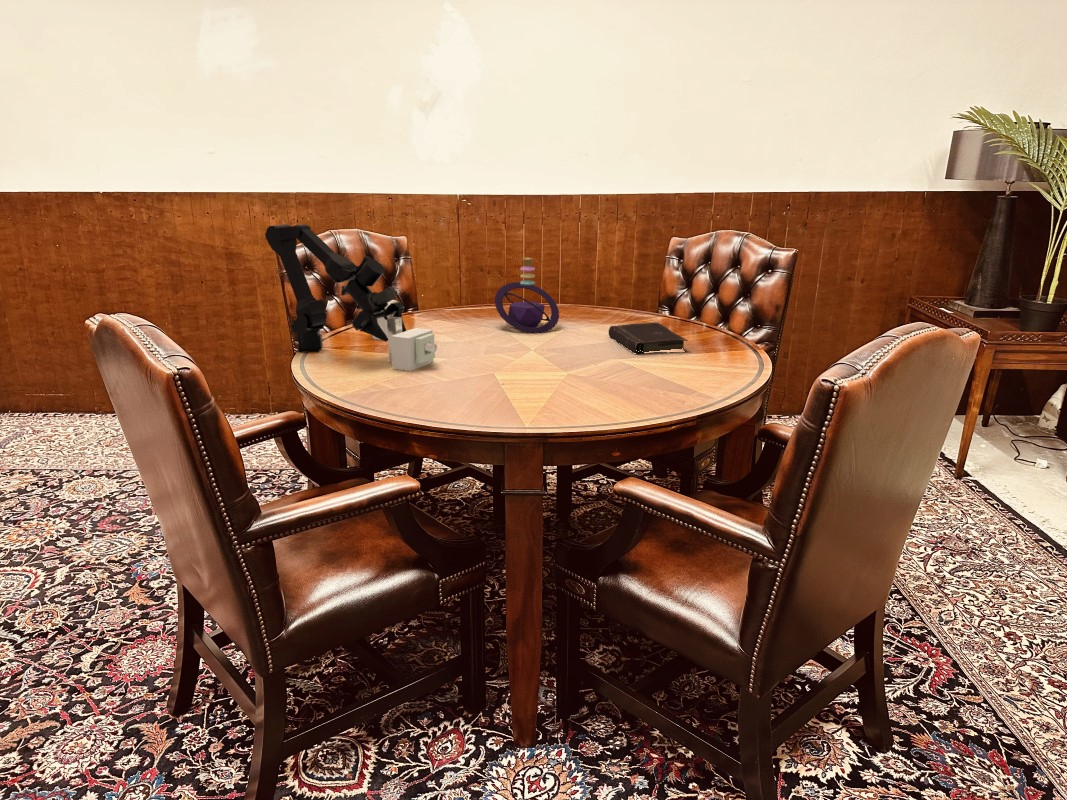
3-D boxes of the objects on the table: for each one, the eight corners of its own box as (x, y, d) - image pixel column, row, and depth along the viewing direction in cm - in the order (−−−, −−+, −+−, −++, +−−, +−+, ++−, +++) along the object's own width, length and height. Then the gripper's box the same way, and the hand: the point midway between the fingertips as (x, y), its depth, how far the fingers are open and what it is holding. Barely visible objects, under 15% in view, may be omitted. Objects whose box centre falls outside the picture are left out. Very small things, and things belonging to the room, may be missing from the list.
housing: (392, 368, 206) (390, 336, 203) (416, 359, 216) (415, 328, 213) (410, 371, 203) (408, 338, 200) (433, 361, 214) (432, 330, 211)
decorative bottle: (503, 336, 247) (502, 262, 239) (490, 323, 266) (489, 255, 258) (565, 333, 252) (566, 260, 245) (548, 321, 272) (549, 253, 264)
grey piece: (389, 362, 211) (386, 318, 207) (395, 359, 214) (393, 316, 210) (432, 368, 205) (430, 323, 201) (438, 365, 208) (436, 321, 204)
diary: (633, 357, 224) (634, 341, 222) (608, 339, 247) (608, 325, 246) (689, 353, 228) (690, 338, 226) (659, 336, 251) (659, 322, 249)
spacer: (416, 362, 205) (415, 338, 202) (430, 357, 211) (429, 333, 208) (421, 363, 204) (420, 339, 202) (434, 357, 210) (434, 334, 208)
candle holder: (402, 334, 248) (401, 300, 244) (394, 341, 238) (392, 305, 235) (374, 333, 248) (372, 299, 245) (365, 340, 239) (363, 304, 235)
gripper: (357, 282, 199) (392, 326, 197) (397, 274, 215) (430, 314, 214) (337, 308, 204) (371, 350, 203) (377, 298, 220) (409, 337, 219)
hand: (396, 337), depth 210 cm, fingers open, 9 cm apart
